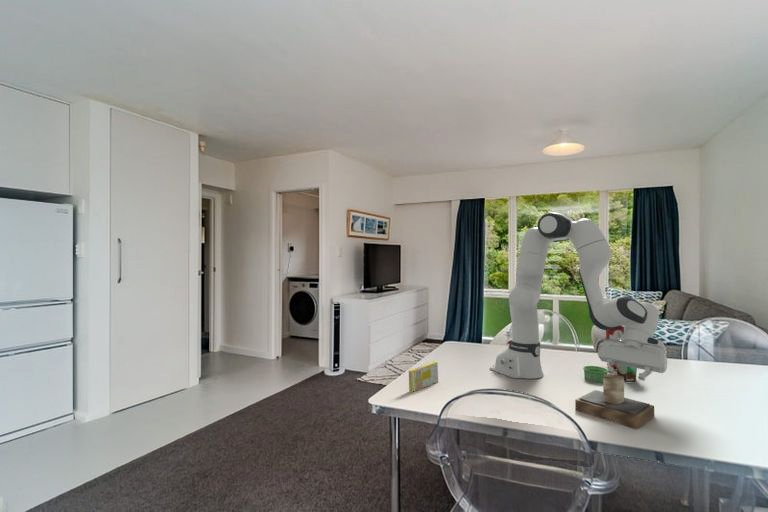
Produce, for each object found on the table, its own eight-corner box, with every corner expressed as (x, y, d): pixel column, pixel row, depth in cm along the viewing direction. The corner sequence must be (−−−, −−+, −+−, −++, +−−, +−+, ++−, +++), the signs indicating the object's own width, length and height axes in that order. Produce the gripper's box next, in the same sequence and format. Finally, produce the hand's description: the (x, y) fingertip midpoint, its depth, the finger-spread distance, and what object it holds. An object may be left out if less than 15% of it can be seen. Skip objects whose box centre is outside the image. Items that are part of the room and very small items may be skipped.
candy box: (434, 381, 156) (434, 361, 156) (438, 382, 155) (438, 362, 155) (408, 391, 145) (408, 369, 145) (412, 392, 143) (412, 371, 143)
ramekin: (578, 377, 158) (578, 367, 158) (593, 374, 162) (593, 364, 162) (598, 384, 150) (597, 373, 150) (613, 381, 154) (613, 370, 154)
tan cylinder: (603, 400, 123) (603, 376, 123) (609, 397, 125) (609, 373, 125) (618, 404, 119) (618, 379, 119) (624, 401, 122) (623, 376, 122)
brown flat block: (575, 410, 125) (575, 398, 125) (594, 400, 134) (594, 388, 134) (637, 429, 111) (637, 415, 111) (654, 416, 119) (654, 404, 119)
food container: (645, 385, 148) (644, 359, 148) (627, 384, 150) (627, 358, 150) (631, 375, 160) (631, 351, 160) (615, 374, 162) (615, 351, 162)
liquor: (620, 366, 173) (619, 305, 173) (628, 371, 166) (627, 307, 166) (603, 365, 174) (602, 305, 175) (610, 370, 167) (609, 307, 167)
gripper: (602, 332, 141) (590, 363, 135) (668, 342, 124) (657, 378, 118) (607, 343, 143) (596, 373, 137) (672, 353, 127) (663, 389, 121)
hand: (625, 375), depth 128 cm, fingers open, 8 cm apart
